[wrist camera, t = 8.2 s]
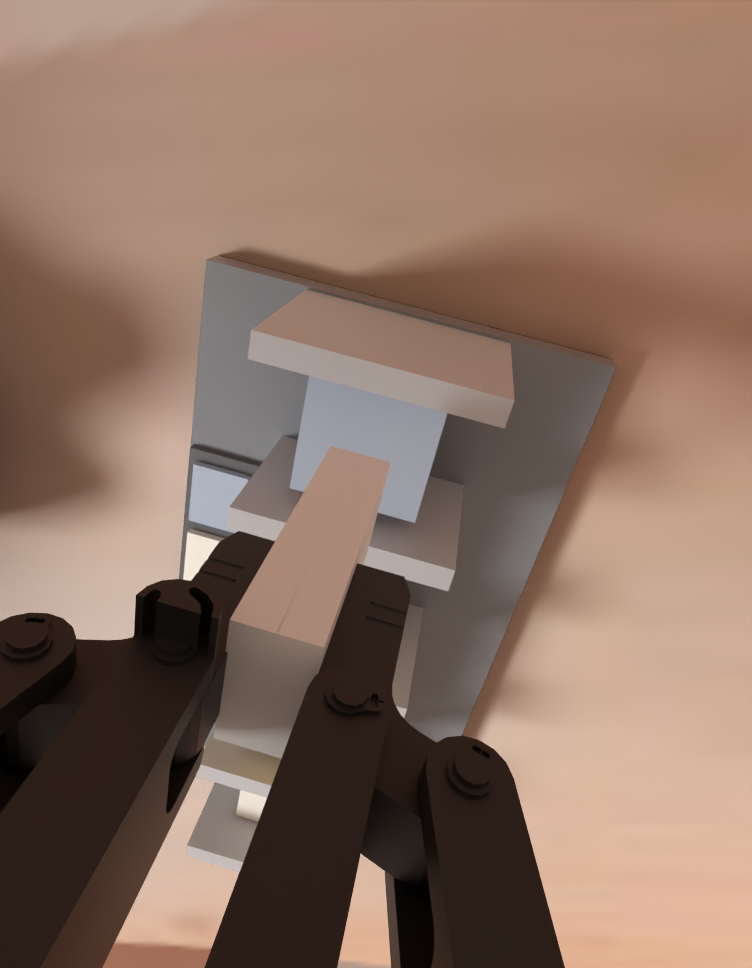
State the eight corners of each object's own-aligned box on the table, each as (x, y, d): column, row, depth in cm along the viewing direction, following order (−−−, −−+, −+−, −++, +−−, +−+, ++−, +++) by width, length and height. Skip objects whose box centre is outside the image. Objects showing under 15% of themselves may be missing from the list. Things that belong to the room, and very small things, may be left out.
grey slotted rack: (174, 719, 34) (110, 833, 28) (218, 255, 22) (123, 291, 17) (431, 795, 33) (417, 928, 28) (611, 359, 22) (651, 433, 16)
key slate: (307, 457, 22) (289, 487, 20) (328, 344, 20) (310, 366, 18) (422, 489, 22) (414, 523, 20) (455, 378, 20) (450, 403, 18)
